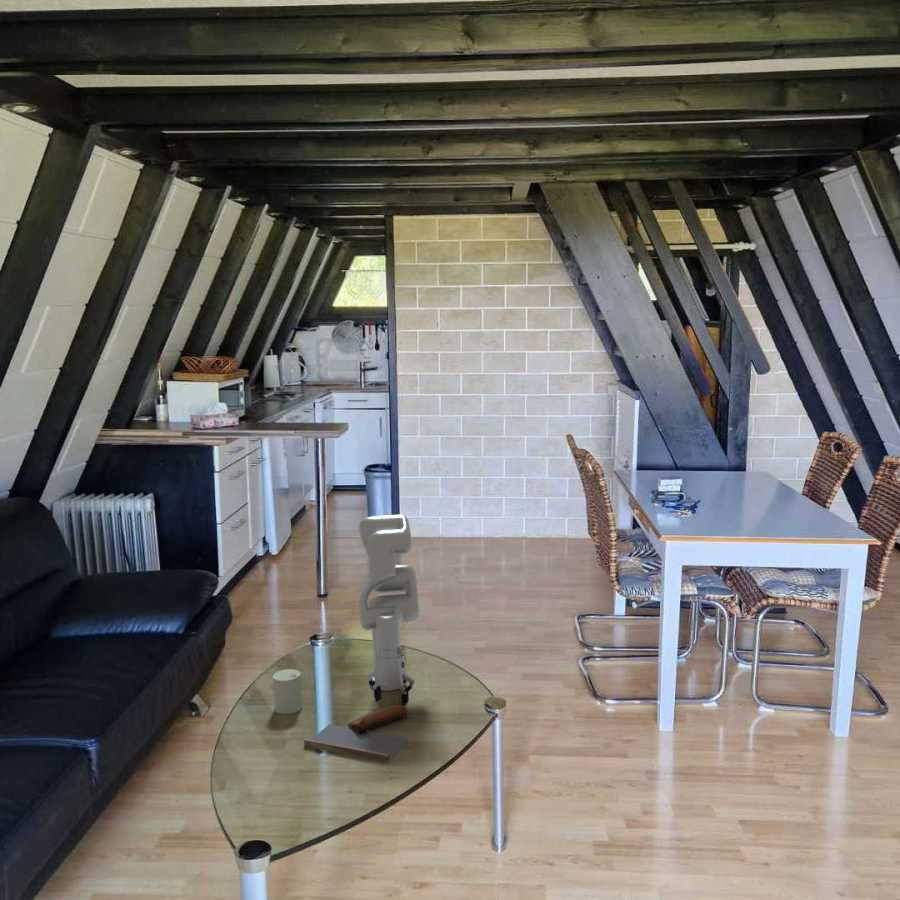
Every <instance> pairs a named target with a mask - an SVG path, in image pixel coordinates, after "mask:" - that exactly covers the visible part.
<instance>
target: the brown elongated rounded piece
mask: <svg viewBox="0 0 900 900" xmlns="http://www.w3.org/2000/svg"><path fill="white" fill-rule="evenodd" d="M402 717H408V709H407V708H406V706H402V705H390V706H385V707H382V708H378V709H375V710H374V709H373V711H369V712H367V713H366V714H364V715H363V716H360V717H358V718H356V719H354V720H352V721H350V722H349V723H348V724H347V727H348V728H350V729H351V730H352V731H354V732H355V733H356V734H358V735H359V734H360V733H363V732H365V731H370V730H372V729H373V728H376V727H377V726H380V725H384V724H386V723H388V722H391V721H394V720H397V719H400V718H402Z"/></svg>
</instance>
